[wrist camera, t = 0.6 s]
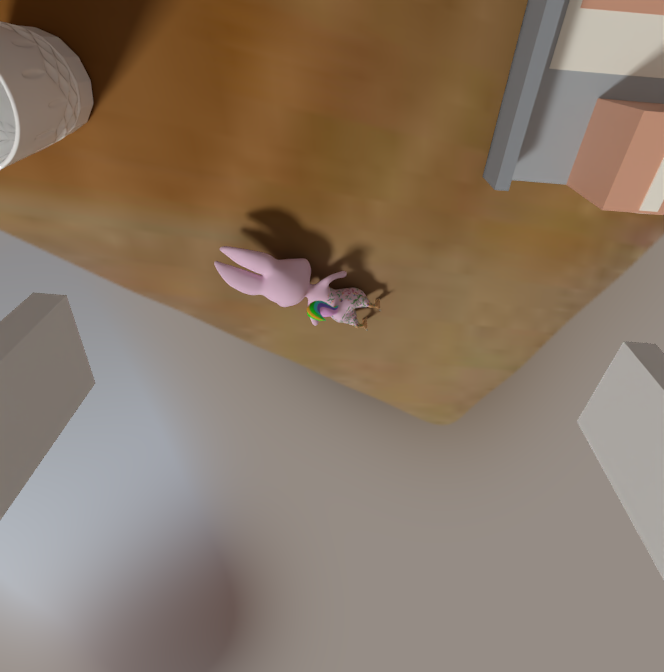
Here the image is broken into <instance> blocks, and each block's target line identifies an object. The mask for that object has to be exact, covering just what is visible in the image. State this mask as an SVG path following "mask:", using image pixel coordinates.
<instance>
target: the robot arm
mask: <svg viewBox="0 0 664 672" xmlns="http://www.w3.org/2000/svg"><path fill="white" fill-rule="evenodd" d="M94 384H95V380H94V377H93V374H92V371H91V368H90V365H89V362H88V359H87V356H86V353H85V350H84V347H83V344H82V341H81V338H80V335H79V332H78V329H77V326H76V323H75V320H74V317H73V314H72V311H71V308H70V305H69V302H68V299H67V296H66V295H56V294H44V293H32V294H31V295H30V296H29V297H28V298H27V299H26V300H24V301H23V302H22V303H21V304H20V305H19V306H18V307H16V308H15V309H14V310H13V311H12V312H11V313H10V314H9V315H7V316H6V317H5V318H4V319H3V320H2V321H1V322H0V520H1V518H2V517H3V515H4V514H5V513H6V511H7V510H8V508H9V507H10V505H11V504H12V503H13V501H14V500H15V498H16V497H17V495H18V494H19V493H20V491H21V490H22V488H23V487H24V485H25V484H26V482H27V481H28V480H29V478H30V477H31V475H32V474H33V472H34V471H35V469H36V468H37V466H38V465H39V464H40V462H41V461H42V459H43V458H44V456H45V455H46V454H47V452H48V451H49V449H50V448H51V446H52V445H53V443H54V442H55V440H56V439H57V438H58V436H59V435H60V433H61V432H62V430H63V429H64V427H65V426H66V425H67V423H68V422H69V420H70V418H71V417H72V416H73V415H74V413H75V412H76V410H77V409H78V407H79V406H80V404H81V403H82V401H83V400H84V399H85V397H86V396H87V394H88V393H89V391H90V390H91V389H92V387H93V386H94ZM577 423H578V425H579V427H580V428H581V430H582V432H583V434H584V436H585V438H586V439H587V441H588V443H589V445H590V446H591V448H592V450H593V452H594V454H595V456H596V457H597V459H598V461H599V463H600V465H601V467H602V468H603V470H604V472H605V474H606V476H607V477H608V479H609V481H610V483H611V485H612V487H613V489H614V490H615V492H616V494H617V496H618V498H619V499H620V501H621V503H622V505H623V507H624V509H625V511H626V512H627V514H628V516H629V518H630V519H631V521H632V523H633V525H634V527H635V529H636V531H637V532H638V534H639V536H640V538H641V540H642V541H643V543H644V545H645V547H646V549H647V551H648V552H649V554H650V556H651V558H652V559H653V561H654V563H655V565H656V567H657V569H658V571H659V572H660V574H661V576H662V578H663V580H664V353H663V352H662V351H661V350H660V348H659V347H658V346H657V345H656V344H648V343H636V342H623V344H622V345H621V347H620V348H619V350H618V352H617V354H616V356H615V357H614V359H613V360H612V362H611V364H610V366H609V367H608V369H607V371H606V373H605V374H604V376H603V378H602V379H601V381H600V383H599V384H598V386H597V388H596V389H595V391H594V393H593V395H592V396H591V398H590V400H589V401H588V403H587V405H586V406H585V408H584V410H583V412H582V413H581V415H580V417H579V418H578V420H577Z"/></svg>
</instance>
